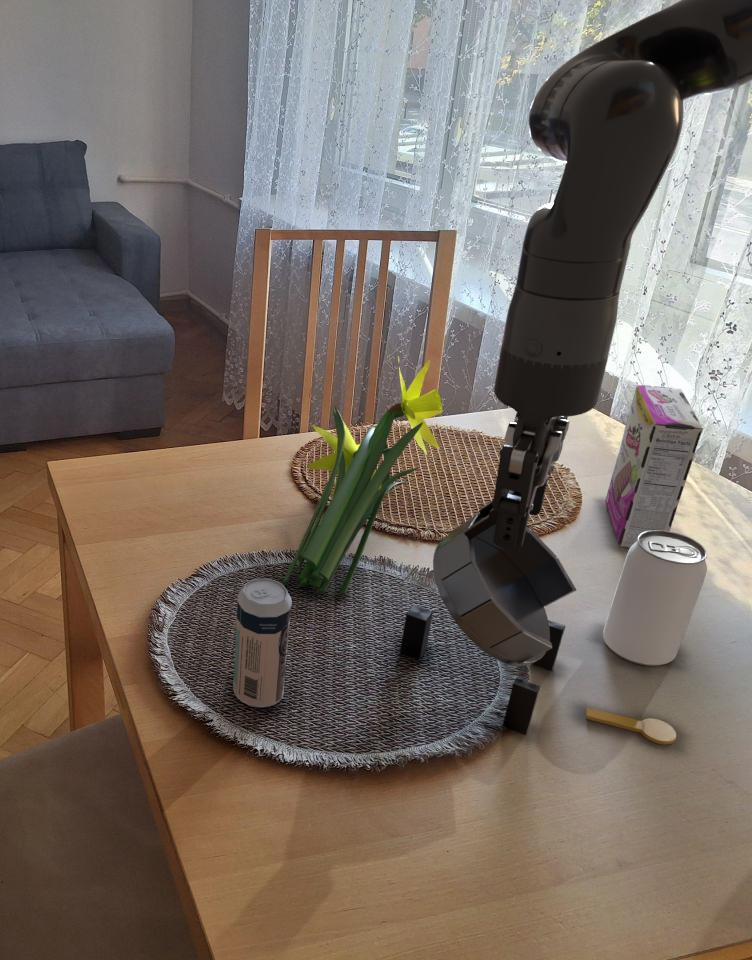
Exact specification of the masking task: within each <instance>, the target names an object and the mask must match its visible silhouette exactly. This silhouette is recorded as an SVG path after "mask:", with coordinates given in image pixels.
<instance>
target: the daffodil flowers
mask: <svg viewBox="0 0 752 960" xmlns="http://www.w3.org/2000/svg"><path fill="white" fill-rule="evenodd" d="M397 360H398V362H400V356H399V355H397ZM430 365H431V359H429V360H428V361H426V363H425V364H423V367H422V368H421V369H420V370H419V371H418V373H417V375H415V377H414V379H413V380H412V382H411V384H410V385H409V386H408V389H407V388H406V387H407V386H406V383H405V380H404V378H403V375H402V372H401V368H400V367H398V372H399V383H400V388H401V401H400V402H399V401H398V402H397V403H395V404H393V405H391V406H390V407H389V408H388V409H387V410H386V412H385V413H383V415H382V416H381V418H380V419H379V420H378V422H377V424H376V426H375V427H374V426H372V427H369V429H368V430H367V431H366V433H365V434H364V436H363V438H362V440H361V442H360V443H358V444H357V443H356V441H355V439H354V436H352V433H351V431H350V430H349V427H348V426H347V425H346V423H345V422H344V420H343V418H342V416H341V413H340V411H339V410H338V408H337V407H336V405H334V407H333V409H332V412H333V414H332V415H333V419H334V423H335V431H336V435H335V434H333V433H331V432H329V431H327V430H326V429H324V428H322V427H321V428H320V427H319V426H316V425H314V424H311V427H312V428H313V430H314V431H315V432H316V433H317V434H318V435H320V436H321V438H322V439H323V440H324V441H325V442H326V444H327V445H328V446H329V447H330V448H331V449H332V450H333V452H332V453H329V454H327V455H324V456H322V457H320V458H318V459H316V460H314V461H312V462H310V463H309V464H307V465H306V467H307V468H308V469H311V470H320V471H327V472H329V471H330V472H331V474H330V476H329V478H328V481H326V485H325V487H324V489H323V491H322V494H321V496H320V498H319V500H318V502H317V505H316V507H315V509H314V511H313V514H312V516H311V518H310V521H309V523H308V525H307V527H306V530H305V532H304V534H303V537H302V539H301V542H300V544H299V545H298V548H297V550H296V553H295V554H294V557H293V559H292V561H291V562H290V565H289V567H288V570H287V571H286V573H285V575H284V577H283V579H282V582H281V583H282V585H283V586H284V587H285V586H286V585H287V584H288V582H289V580H290V578H291V576H292V574H293V572H294V573H298V572H299V571H300V569H301V568H302V566H303V568H302V570H301V572H300V574H299V576H298V578H297V582H298V587H308V586H309V585H310V586H312V587H314V588H317V590H316V591H315V594H316V595H323V594H325V593H326V591H327V589H328V587H329V585H330V583H331V582H332V580H333V578H334V577H335V574H336V572H337V570H338V569H339V566H340V565H341V563H342V561H343V558H344V557H345V555H346V554H347V552H348V551H349V549H350V548H351V546H352V544H353V542H354V540H355V539H356V537H357V535H358V534H359V532H360V530H361V529H362V528H363V526H364V525H365V523H366V525H365V528H364V529H363V532H362V535H361V538H360V540H359V543H358V545H357V548H356V551H355V553H354V556H353V558H352V561H351V564H350V566H349V568H348V571H347V573H346V574H345V578H344V580H343V581H342V585H341V587H340V589H339V591H338V594H337V597H344V596H345V595H346V594H347V592H348V589H349V586H350V584H351V582H352V580H353V576H354V574H355V572H356V570H357V567H358V566H359V563H360V560H361V557H362V556H363V555H362V554H363V552H364V549H365V547H366V544H367V542H368V540H369V536H370V534H371V531H372V528H373V526H374V523H375V521H376V518H377V515H378V513H379V511H380V508H381V505H382V503H383V500H384V498H385V496H386V495H387V494H388V493H389V491H390V490H391V489H393V488H395V487H396V486H400V485H404V484H405V485H406V484H409V481H397V480H399V479H401V478H402V477H405V476H406V475H408V474H410V473H413V472H415V471H416V470H419V468H418V467H416V468H410V469H405V470H402V471H399V472H397V473H396V474H394V475H392V476H391V470H392V469H393V466H394V465H395V464H396V462H397V460H398V459H399V457H400V456H401V454H402V453H403V452H404V451H405V449H406V448H407V446H408V445H409V444H410V442H411V441H412V439H413V438H414V439H415V441H416V444H417V446H419V447H420V449H421V450H422V451H423V452H424V453H425V455H426V456H427V457H428V451H427V449H426V445H425V443H424V441H425V442H426V443H427V444H428V445H429V446H432V447H433V448H435V449H437V450H440V446H439V443H438V442H437V440H436V438H435V436H434V435H433V432H432V431H431V429H430V427H429V426H428V424H427V423H426V421H425V419H430V418H433V417H434V416H437V415H439V414H441V413H443V412H444V409H443V404H444V403H443V402H442V400H443V398H441V394H439V393H440V390H439V391H438V388H434V389H433V390H430V391H429V392H427V393H425V394H422V395H421V393H422V389H423V385H424V381H425V377H426V374H427V372H428V370H429V368H430ZM404 416H405V417H406V418H407V421H408V423H409V425H410V427H411V428H410V430H409V431H407V432H406V433H405V434H404V435H403V436H402V437H400V438H399V439H398V440H397V441H396V443H394V444H393V446H391V447H388V444H387V441H388V439H389V436H390V433H391V430H392V427H393V424H394V420H395V419H399V418H402V417H404ZM423 440H424V441H423ZM382 455H383V460H382V461H381V463H380V464H379V462H380V460H381V457H382ZM378 464H379V466H378ZM377 466H378V467H377ZM376 468H377V469H376ZM396 481H397V482H396ZM334 483H335V484H334ZM333 486H334V487H333ZM332 490H333V491H332ZM331 493H332V495H331ZM330 496H331V500H330V502H329V503H328V501H329V499H330ZM326 507H327V508H326ZM305 561H306V562H305ZM304 562H305V564H304ZM303 564H304V565H303Z"/></svg>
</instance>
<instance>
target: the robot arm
mask: <svg viewBox="0 0 752 960" xmlns="http://www.w3.org/2000/svg"><path fill="white" fill-rule="evenodd" d="M751 81H752V0H679V1H677V2H675V3H673V4H672V5H669V6H667V7H665V8H663V9H661V10H659V11H656V12H654V13H652V14H650V15H648V16H646V17H644V18H642V19H640V20H638V21H636V22H634V23H632V24H630V25H628V26H626V27H625V28H622V29H621V30H618V31H616V32H614V33H612V34H611V35H609V36H607V37H605V38H604V39H601V40H599V41H597V42H596V43H594V44H592V45H591V46H589V47H587V48H584V49H583V50H582V51H580V52H579V53H577V54H576V55H574V56H572V57H571V58H569V59H568V60H567V61H566V62H564V63H563V64H562V65H561V66H559V67H558V68H557V69H556V70H554V72H553V73H552V74H551V75H550V76H548V78H547V79H546V80H545V81H544V83H543V84H542V85H541V87H540V88H539V90H538V91H537V93H536V94H535V96H534V98H533V100H532V102H531V106H530V109H529V114H528V131H529V134H530V138H531V140H532V142H533V144H534V145H535V146H536V148H538V150H539V151H541V153H543V154H544V155H545V156H547V157H548V158H551V159H553V160H555V161H557V162H561V163H564V164H565V165H564V170H563V173H562V177H561V179H560V182H559V185H558V188H557V191H556V193H555V196H554V199H553V202H550V203H547V204H544V205H542V206H541V207H538V209H536V210H535V212H533V214H532V215H531V217H530V218H529V221H528V223H527V226H526V229H525V233H524V237H523V242H522V247H521V253H520V258H519V263H518V269H517V276H516V283H515V286H514V290H513V294H512V297H511V300H510V302H509V306H508V308H507V313H506V318H505V323H504V329H503V333H502V334H503V335H502V339H501V346H500V352H499V357H498V364H497V370H496V374H495V381H494V386H493V392H494V395H495V397H496V399H497V400H498V401H499V402H500V403H501V404H503V405H504V406H506V407H510V408H511V409H512V410H514V411H515V412H516V414H515V417H514V421H513V422H512V421H509V422H508V425H507V428H506V432H505V435H504V442H505V444H504V445H502V448H500V450H499V454H498V455H499V461H498V467H497V475H496V482H495V486H494V495H493V498H492V500H491V501H492V505H493V506H492V509H494V510H498V511H499V512H498V517H497V522H496V527H495V533H494V538H493V542H494V543H495V544H496V545H497V546H500V547H504V548H508V549H511V550H519V549H520V548H521V546H522V544H523V541H524V536H525V532H526V527H528V522H529V518H530V517H529V516H530V515H532V516H537V515H539V514H540V513H541V511H542V508H543V506H544V505H543V504H544V499H545V497H546V496H545V495H546V492H547V486H548V482H549V476H551V475H552V473H554V471H555V468H556V466H555V463H556V462H558V461H559V459H560V456H561V454H562V450H563V447H564V441H565V438H566V436H567V433H568V431H569V427H570V420H568V417H575V416H580V415H583V414H586V413H588V412H590V411H591V410H593V409H594V408H595V407H596V405H597V404H598V403H599V397H600V393H601V390H602V385H603V380H604V377H605V373H606V368H607V364H608V360H609V356H610V351H611V347H612V343H613V338H614V334H615V331H616V327H617V321H618V315H619V314H618V313H619V299H620V293H621V288H622V284H623V279H624V276H625V271H626V267H627V263H628V258H629V254H630V250H631V244H632V239H633V235H634V233H635V231H636V229H637V228H638V225H639V223H640V222H641V220H642V218H644V215H645V213H646V211H647V210H648V208H649V205H650V204H651V202H652V200H653V198H654V196H655V193H656V191H657V190H658V188H659V185H660V184H661V182H662V180H663V178H664V176H665V173H666V171H667V170H668V167H669V165H670V163H671V161H672V158H673V156H674V154H675V151H676V149H677V146H678V144H679V140H680V137H681V132H682V128H683V123H684V101H686V100H689V99H693V98H696V97H699V96H703V95H711V94H712V95H713V94H719V93H725V92H728V91H732V90H734V89H737V88H739V87H741V86H743V85H745V84H748V83H749V82H751ZM509 490H512V491H516V492H519V493H520V494H521V497H519V496H515V495H511V494H508V493H509Z"/></svg>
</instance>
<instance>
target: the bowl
mask: <svg viewBox="0 0 752 960" xmlns="http://www.w3.org/2000/svg"><path fill="white" fill-rule="evenodd" d="M508 494H511V495H515V496H519V497H521V494H520V493H519V492H516V491H512V490H509V493H508ZM492 506H493V505H492V500H490V501H489V502H488V503H486V504H485V505H483V506H481V507H480V508H479V510H478V513H477V514H475V515H473V516H472V517H470V518H469V519H468V520H466V521H465V522H463V523H461V524H460V525H458V526H457V527H455V528H453V529H452V530H451V531H450V532H449V533H448V534H447V536H446V537H444V538H443V539H442V540H441V541H440V542H438V544H437V546H436V547H435V550H434V553H433V559H432V567H433V568H432V571H433V577H434V581H435V584H436V587H437V589H438V593H439V595H440V598H441V600H442V602H443V604H444V606H445V608H446V610H447V612H448V613H449V615H450V617H452V619H453V621H454V622H455V624H457V626H458V628H459V629H460V630H461V631H462V632H463V633H464V635H465V636H466V637H467V638H468V639H469V640H470V641H471V642H472V643H473V644H474V645H475V646H476V647H478V648H479V649H480V650H481V651H482V652H484V653H486V654H487V655H488V656H490V657H492V658H493V659H495V660H497V661H499V662H501V663H504V664H507V665H509V666H514V667H515V666H516V667H526V666H530V665H533V664H532V663H534V662H536V661H538V660H539V659H541V658H542V657H543V656H544V655H545V653H546V651H548V650H550V649H552V643H551V642H549V641H550V628H549V622H548V620H549V619H548V614H547V612H546V609H545V608H546V607H548V606H550V605H552V604H553V603H555V602H557V601H559V600H561V599H563V598H565V597H567V596H569V595H571V594H572V593H575V592H576V591H577V588H576V586H575V584H574V583H573V581H572V579H571V578H570V576H569V575H568V573H567V570H566V569H565V567H564V566H563V564H562V562H561V561H560V559H559V557H558V555H556V554H555V552H553V550H552V549H551V548H550V547H549V546H548V545H547V544H546V543H545V542H544V541H543V540H542V539H541V538H540V537H539V536H538V535H537V533H536V532H534V531H533V530H532V529H530V527H528V526H527V527H526V532H525V536H524V541H523V544H522V546H521V548H520V549H519V550H511V549H508V548H504V547H500V546H497V545H496V544H495V543H494V542H493V538H494V533H495V527H496V522H497V517H498V512H499V511H498V510H494V509H492Z"/></svg>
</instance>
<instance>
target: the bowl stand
mask: <svg viewBox="0 0 752 960" xmlns="http://www.w3.org/2000/svg"><path fill="white" fill-rule="evenodd" d="M433 615H434V610H431V609H428V608H426V607H423V606H420V605H417V604H412V605H411V607H410V608H409V609H408V611H407V612H406V614H405V619H404V625H403V633H402V636H401V637H402V638H401V643H400V644H401V645H400V649H399V654H402V655H404V656H407V657H410V658H412V659H415V660H418V661H421V658H422V657H423V655H424V654H425V652H426V650H427V646H428V641H429V635H430V630H431V625H432V619H433ZM548 622H549V628H550V641H549V642H551V643H552V649H550V650H548V651H546V653H545V655H544V656H543V657H542V658H541V659H539V660H538V661H536V662H534V663H532V664H531V665H533V666H536V667H539V668H542V669H545V670H548V671H551V672H552V671H553V670H554V667H555V665H556V661H557V658H558V653H559V650H560V647H561V644H562V640H563V636H564V633H565V629H566V625H565V624H563V623H559V622H556V621H553V620H550V619H548ZM540 689H541V685H538V684H535V683H532V682H530V681H527V680H525V679H521V678H520V677H515V679H514V681H513V684H512V686H511V691H510V695H509V699H508V703H507V706H506V710H505V715H504V718H503V721H502V727H504V728H507V729H510V730H513V731H515V732H517V733H520V734H523V735H525V736H526V735H527V734H528V731H529V729H530V726H531V722H532V718H533V715H534V710H535V709H536V708H535V707H536V703H537V700H538V696H539V693H540Z"/></svg>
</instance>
